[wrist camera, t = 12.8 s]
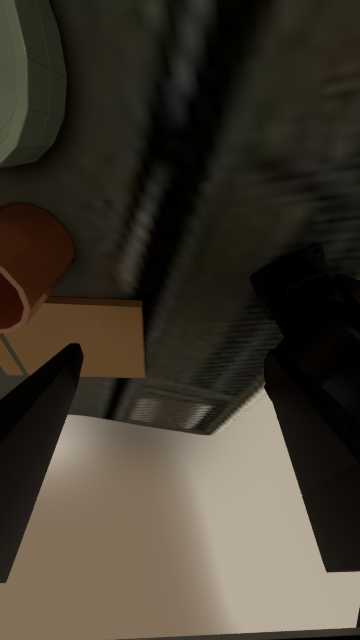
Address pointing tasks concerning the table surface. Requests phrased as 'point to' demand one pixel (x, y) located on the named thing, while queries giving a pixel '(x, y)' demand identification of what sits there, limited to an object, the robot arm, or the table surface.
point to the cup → (29, 261)
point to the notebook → (80, 337)
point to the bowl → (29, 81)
